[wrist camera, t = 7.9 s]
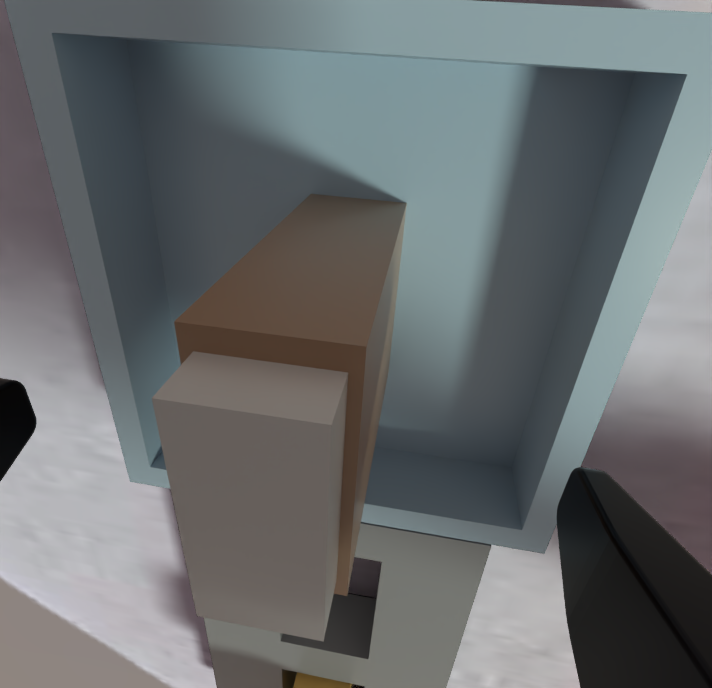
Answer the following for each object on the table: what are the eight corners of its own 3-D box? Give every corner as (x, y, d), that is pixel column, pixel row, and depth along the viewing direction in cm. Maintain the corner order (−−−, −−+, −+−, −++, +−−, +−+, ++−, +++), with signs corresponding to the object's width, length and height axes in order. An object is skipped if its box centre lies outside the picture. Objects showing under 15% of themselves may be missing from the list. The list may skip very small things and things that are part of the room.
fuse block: (484, 484, 16) (491, 546, 14) (419, 718, 26) (417, 777, 24) (212, 440, 18) (179, 491, 15) (243, 680, 27) (225, 733, 25)
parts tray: (680, 30, 10) (767, 15, 7) (528, 476, 16) (543, 553, 13) (102, -3, 11) (-3, -25, 8) (176, 420, 17) (130, 481, 15)
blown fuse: (406, 203, 12) (351, 397, 5) (388, 372, 14) (335, 658, 7) (311, 193, 12) (127, 364, 5) (309, 361, 14) (187, 628, 8)
